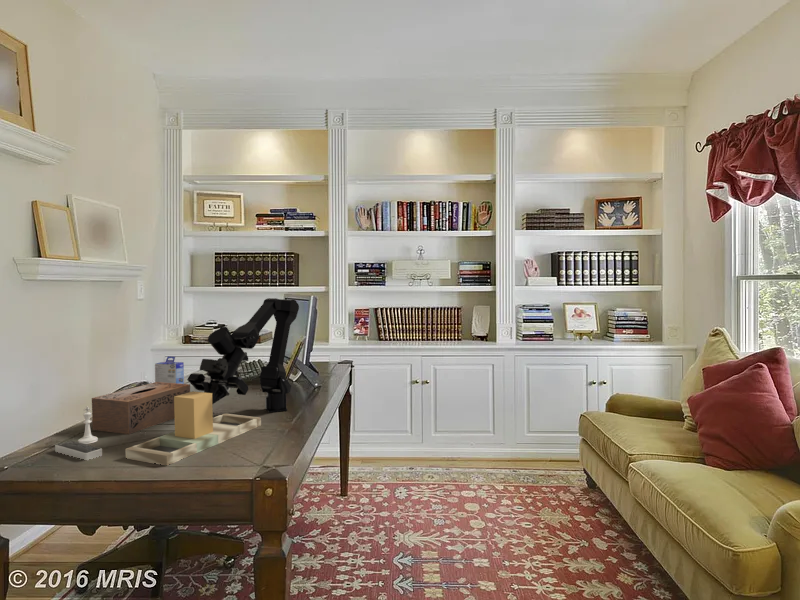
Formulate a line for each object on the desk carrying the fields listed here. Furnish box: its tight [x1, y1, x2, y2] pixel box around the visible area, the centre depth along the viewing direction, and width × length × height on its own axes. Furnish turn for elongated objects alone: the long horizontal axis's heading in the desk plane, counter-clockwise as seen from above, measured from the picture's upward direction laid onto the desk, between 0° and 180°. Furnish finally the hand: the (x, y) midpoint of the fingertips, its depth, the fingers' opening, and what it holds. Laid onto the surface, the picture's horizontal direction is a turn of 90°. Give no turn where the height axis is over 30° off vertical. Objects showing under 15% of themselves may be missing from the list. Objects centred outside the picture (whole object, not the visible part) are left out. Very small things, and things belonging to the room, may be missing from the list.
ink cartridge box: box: [154, 356, 185, 384], centre depth 209 cm, size 10×6×14 cm, turn 78°
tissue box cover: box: [91, 381, 191, 435], centre depth 169 cm, size 26×14×10 cm, turn 161°
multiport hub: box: [54, 440, 103, 461], centre depth 137 cm, size 4×14×2 cm, turn 61°
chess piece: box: [77, 405, 99, 445], centre depth 147 cm, size 5×5×10 cm
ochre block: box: [174, 391, 214, 439], centre depth 146 cm, size 7×7×11 cm
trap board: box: [125, 413, 262, 466], centre depth 148 cm, size 37×14×2 cm, turn 158°
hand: (203, 408), depth 149 cm, fingers closed
